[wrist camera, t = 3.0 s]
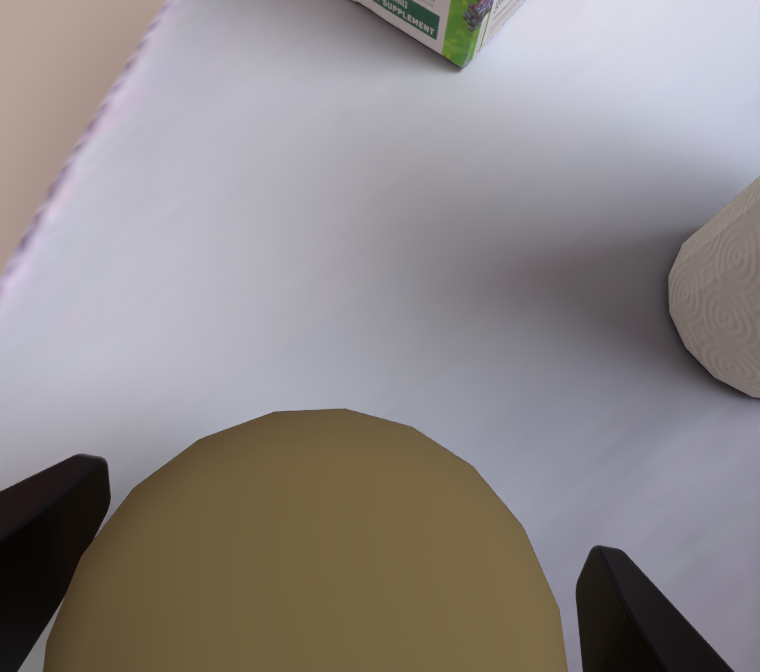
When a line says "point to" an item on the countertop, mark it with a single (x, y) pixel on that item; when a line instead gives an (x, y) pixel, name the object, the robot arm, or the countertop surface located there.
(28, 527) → the robot arm
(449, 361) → the countertop surface
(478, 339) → the countertop surface
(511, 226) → the countertop surface
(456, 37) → the syrup box
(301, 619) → the cork
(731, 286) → the paper towel roll
